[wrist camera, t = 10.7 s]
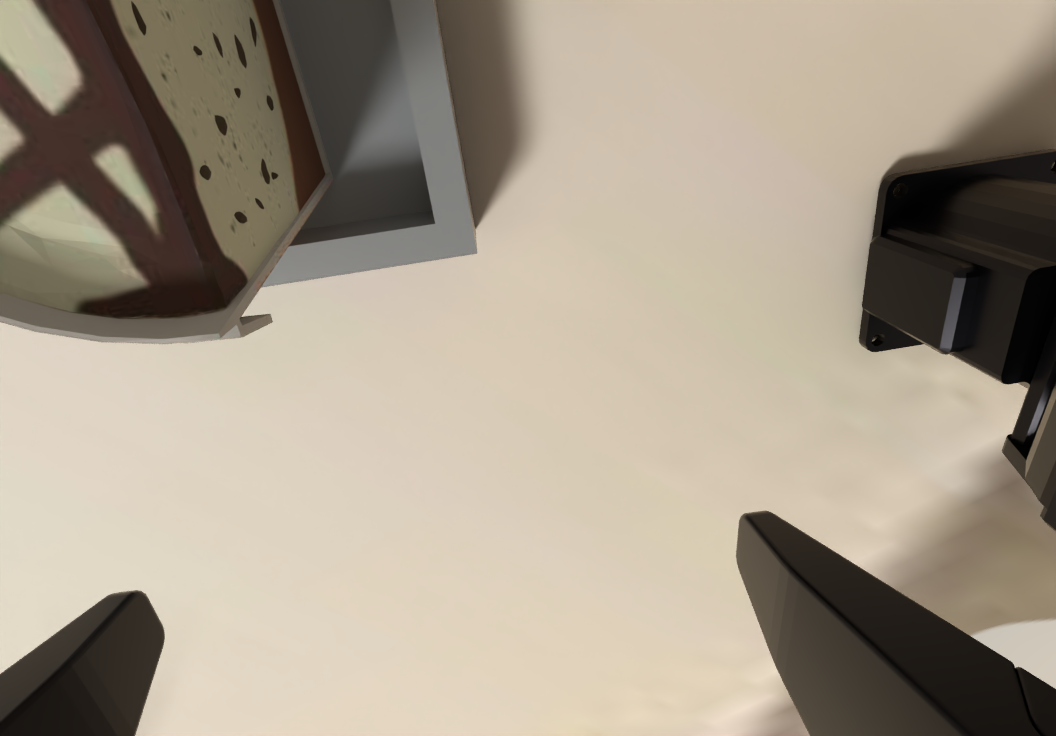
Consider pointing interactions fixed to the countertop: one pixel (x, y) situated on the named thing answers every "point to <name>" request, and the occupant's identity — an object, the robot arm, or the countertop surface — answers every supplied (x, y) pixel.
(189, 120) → the food container
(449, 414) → the countertop surface
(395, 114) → the tray
